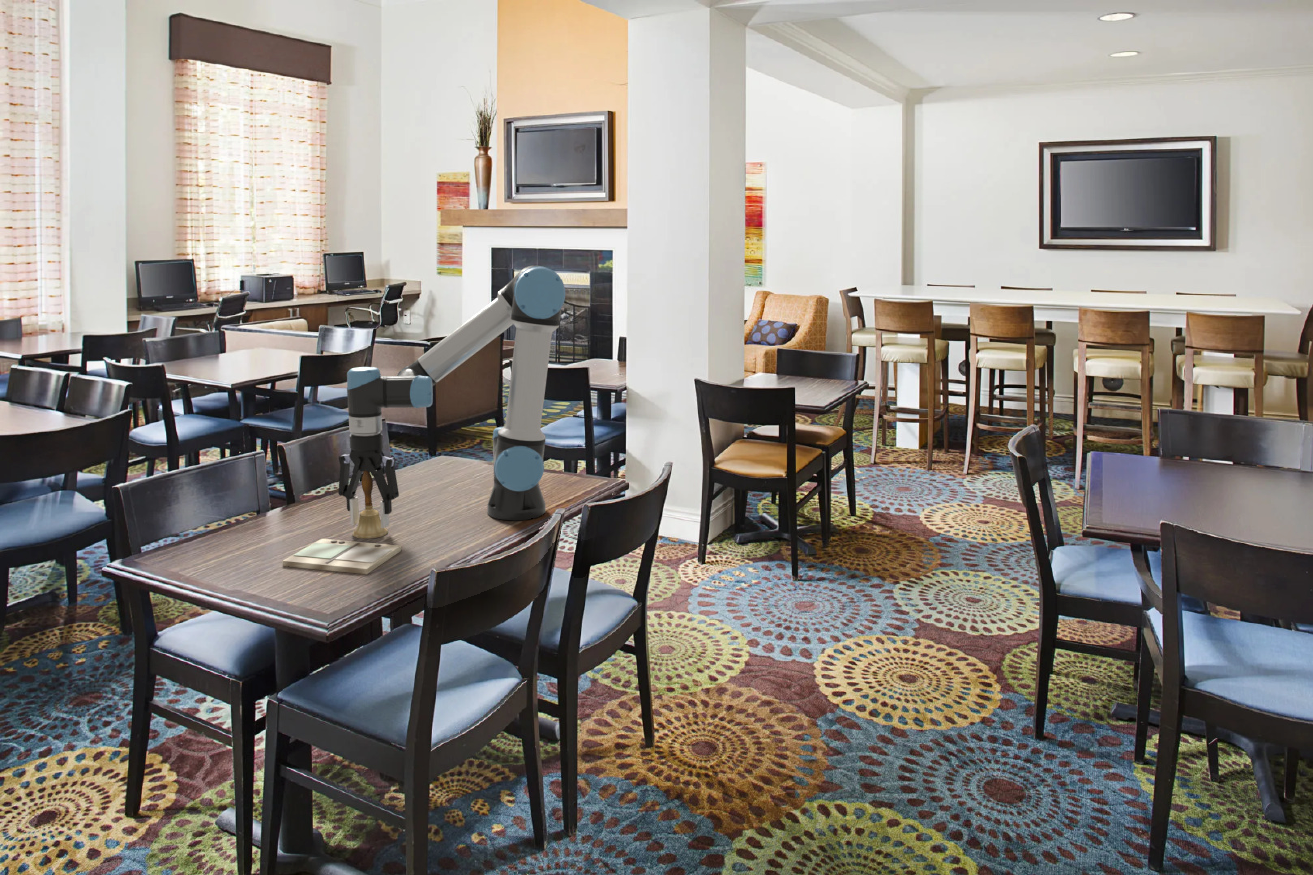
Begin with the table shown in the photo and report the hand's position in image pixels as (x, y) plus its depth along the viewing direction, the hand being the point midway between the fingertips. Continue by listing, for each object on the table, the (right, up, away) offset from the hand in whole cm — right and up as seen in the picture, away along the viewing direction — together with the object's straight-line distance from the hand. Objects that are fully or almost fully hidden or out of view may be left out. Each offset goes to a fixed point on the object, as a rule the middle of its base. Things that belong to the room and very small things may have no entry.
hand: (370, 525), depth 233 cm
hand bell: (0, -2, 0) cm, 2 cm away
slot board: (-1, -6, -17) cm, 18 cm away
